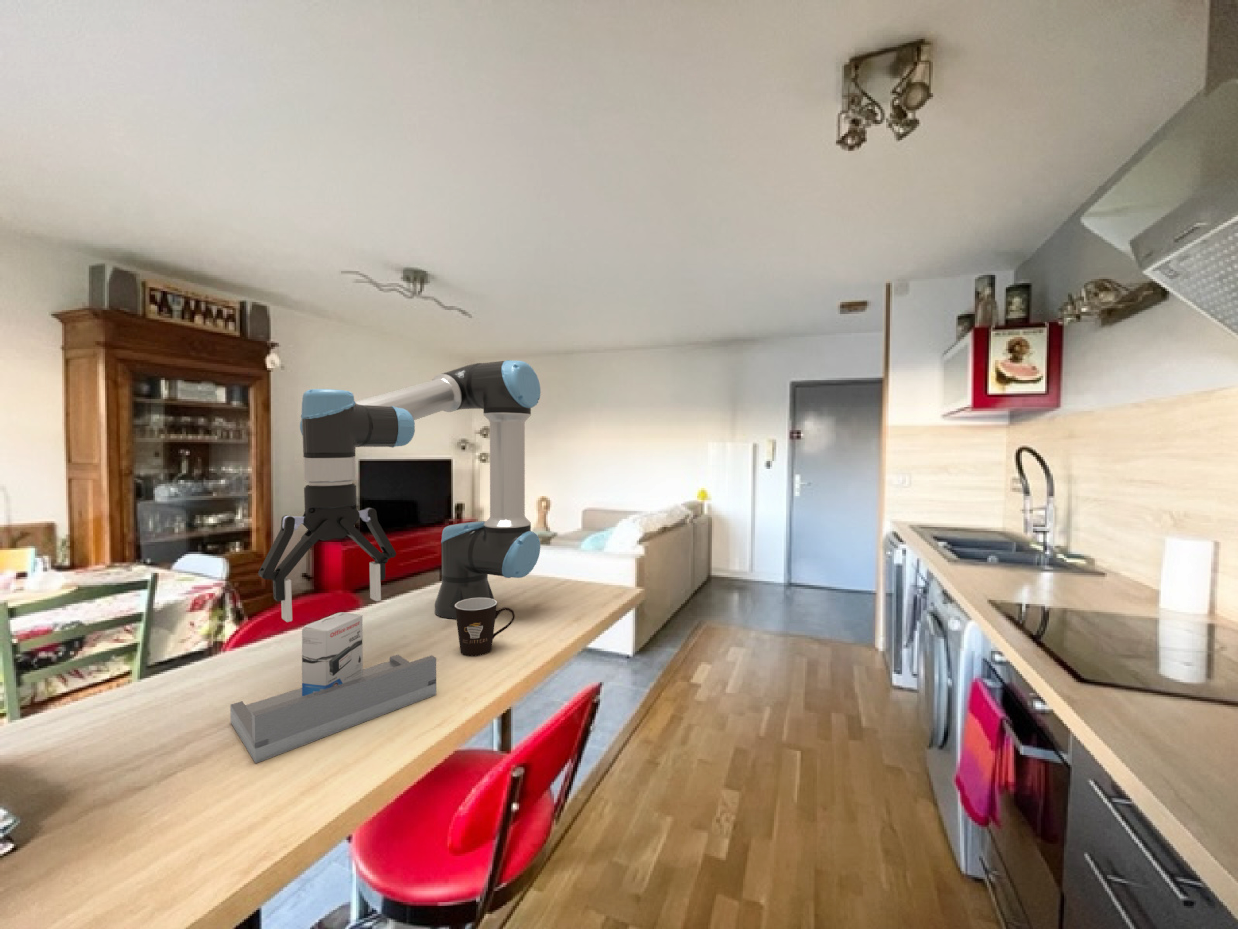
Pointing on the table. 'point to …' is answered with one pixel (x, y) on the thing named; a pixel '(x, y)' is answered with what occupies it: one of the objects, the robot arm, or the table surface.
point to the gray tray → (331, 707)
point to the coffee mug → (477, 625)
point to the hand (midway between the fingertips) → (333, 609)
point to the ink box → (331, 652)
